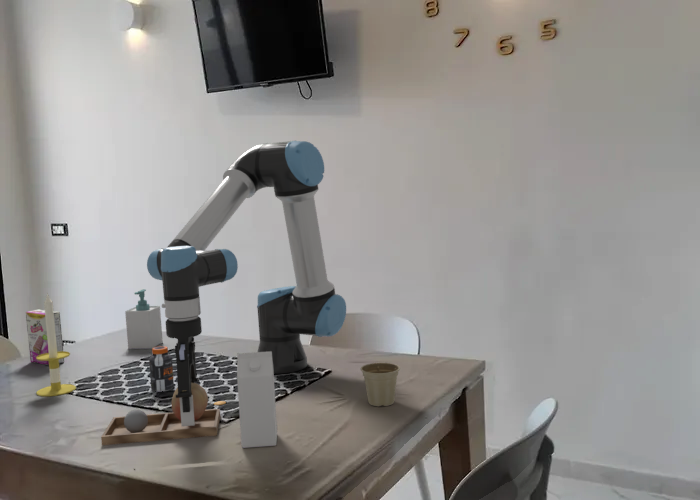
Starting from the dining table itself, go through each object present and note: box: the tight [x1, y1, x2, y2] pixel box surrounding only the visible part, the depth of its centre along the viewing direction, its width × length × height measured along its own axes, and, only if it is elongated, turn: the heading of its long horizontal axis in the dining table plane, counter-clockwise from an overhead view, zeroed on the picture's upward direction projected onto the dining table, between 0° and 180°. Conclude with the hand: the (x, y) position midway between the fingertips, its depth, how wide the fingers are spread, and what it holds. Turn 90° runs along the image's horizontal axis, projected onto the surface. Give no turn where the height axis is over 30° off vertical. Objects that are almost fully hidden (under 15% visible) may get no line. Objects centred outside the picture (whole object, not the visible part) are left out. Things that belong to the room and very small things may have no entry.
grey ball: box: [124, 409, 148, 433], centre depth 154 cm, size 5×5×5 cm
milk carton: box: [236, 351, 278, 449], centre depth 146 cm, size 7×7×19 cm
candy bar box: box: [25, 308, 65, 366], centre depth 221 cm, size 11×5×16 cm, turn 58°
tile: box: [207, 400, 227, 406], centre depth 172 cm, size 10×7×1 cm
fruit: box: [171, 382, 209, 421], centre depth 155 cm, size 8×8×8 cm
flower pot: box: [360, 362, 401, 407], centre depth 168 cm, size 9×9×9 cm
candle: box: [36, 292, 77, 398], centre depth 189 cm, size 10×10×27 cm
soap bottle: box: [124, 289, 163, 350], centre depth 238 cm, size 9×9×19 cm
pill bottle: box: [148, 345, 175, 393], centre depth 187 cm, size 6×6×11 cm
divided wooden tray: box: [100, 408, 221, 446], centre depth 155 cm, size 24×12×2 cm, turn 97°
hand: (190, 418), depth 155 cm, fingers closed on fruit, 8 cm apart
